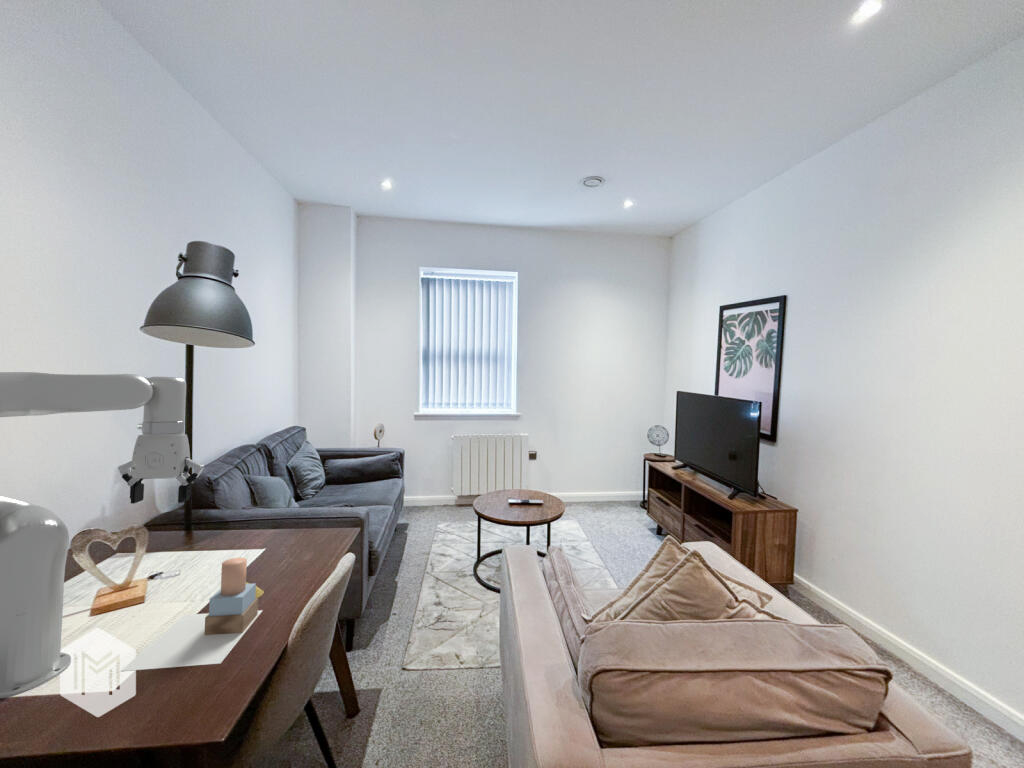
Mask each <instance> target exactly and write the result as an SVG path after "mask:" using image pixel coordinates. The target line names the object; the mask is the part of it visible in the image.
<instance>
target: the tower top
mask: <svg viewBox="0 0 1024 768" xmlns="http://www.w3.org/2000/svg"><path fill="white" fill-rule="evenodd" d="M256 584H257V583H250V584H246V589H245V591H243V592H242V593H239V594H237V595H233V596H222V595H221V588H220V589H219V590H218V591H217V592H215V594H213V595H211V597H210V598H209V602H208V603H209V605H208V607H209V608H208V613H209V616H224V615H241V614H243V613H244V612H245V611H246V609H247V608H248V607H249V606H250V605H251V604H252V603H253V601H254V600H255V592H256V586H257V585H256Z"/></svg>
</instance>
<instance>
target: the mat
mask: <svg viewBox="0 0 1024 768" xmlns="http://www.w3.org/2000/svg"><path fill="white" fill-rule="evenodd" d="M263 611H264V610H263V609H261V610H259V609H258V613H257V616H256V617H255V618H254V619H253V621H252V622H251V623H250V624H249V626H248V627H247V628H246V629H245V630H244V632H243V633H232V634H217V635H204V632H205V617H206V616H207V615H208V614H209V612H207V613H194V614H192V613H190V614H183V615H182V616H181V617H180V618H179V619H178V620H176V622H174V623H173V624H172V625H171V626H170V627H169V628H167V629H166V630H164V632H163V633H162V634H160V636H158V637H157V638H156V639H155V640H154V641H153V642H151V644H150V645H148V646H147V647H146V648H145V649H143V651H141V652H140V653H139V654H138V655H137V656H135V657H134V658H133V660H131V661H130V662H129V663H128V664H126V666H124V667H123V668H122V669H121V670H120V672H131V671H142V670H157V669H168V668H179V667H180V668H181V667H191V666H192V667H194V666H206V665H218V664H219V665H220V664H222V663H223V661H224V660H225V659H226V658H227V656H228V655H229V653H230V652H232V649H234V647H235V646H236V645H237V644H238V642H239V641H241V638H243V636H244V635H245V633H246V632H247V631H248V630H249V628H250V627H251V626H252V625H253V624H254V622H255V621H256V620H257V619H258V617H259V616H260V615H261V613H262V612H263Z"/></svg>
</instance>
